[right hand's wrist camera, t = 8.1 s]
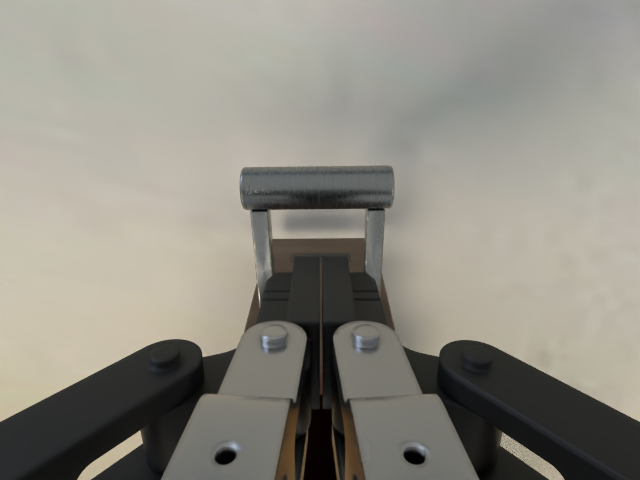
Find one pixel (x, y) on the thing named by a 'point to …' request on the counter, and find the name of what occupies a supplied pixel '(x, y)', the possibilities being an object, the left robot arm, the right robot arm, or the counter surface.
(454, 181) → the counter surface
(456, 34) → the counter surface
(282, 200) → the drawer
